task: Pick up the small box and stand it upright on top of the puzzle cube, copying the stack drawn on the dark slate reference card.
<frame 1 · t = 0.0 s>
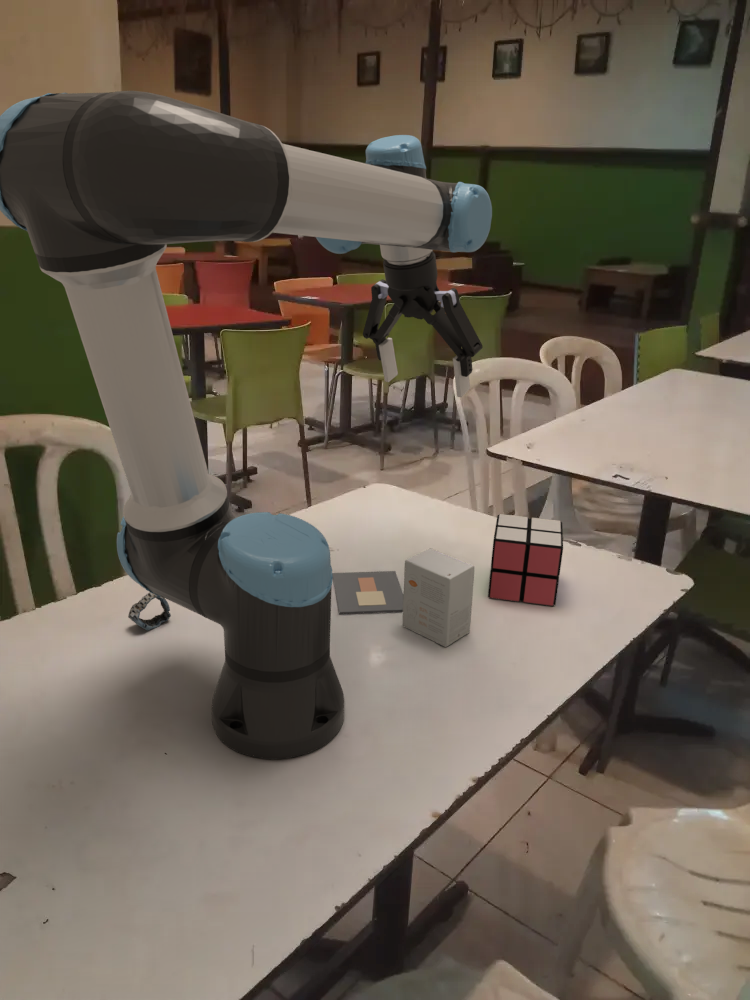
hand: (426, 385, 124), 28 cm above the table, tool tilted 20°, fingers open, 13 cm apart
small box: (435, 630, 109), on the table
puzzle cube: (521, 589, 121), on the table
reference card: (368, 592, 118), on the table
wristwatch: (151, 627, 108), on the table
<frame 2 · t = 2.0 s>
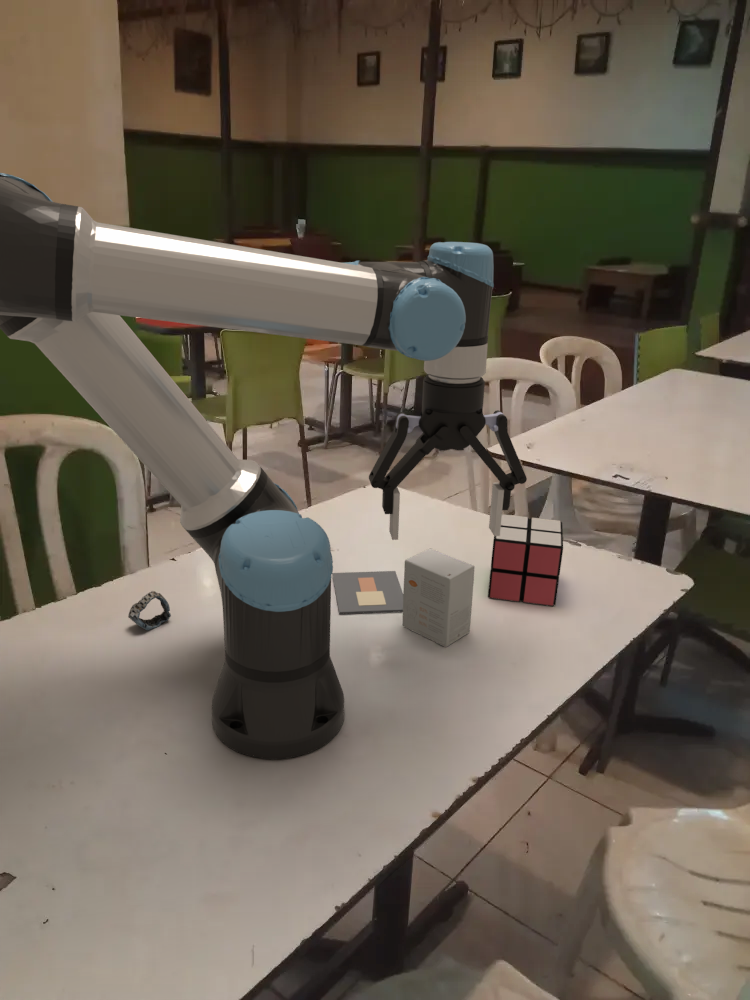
hand: (444, 533, 104), 15 cm above the table, tool pointing down, fingers open, 13 cm apart
nothing on the table moved.
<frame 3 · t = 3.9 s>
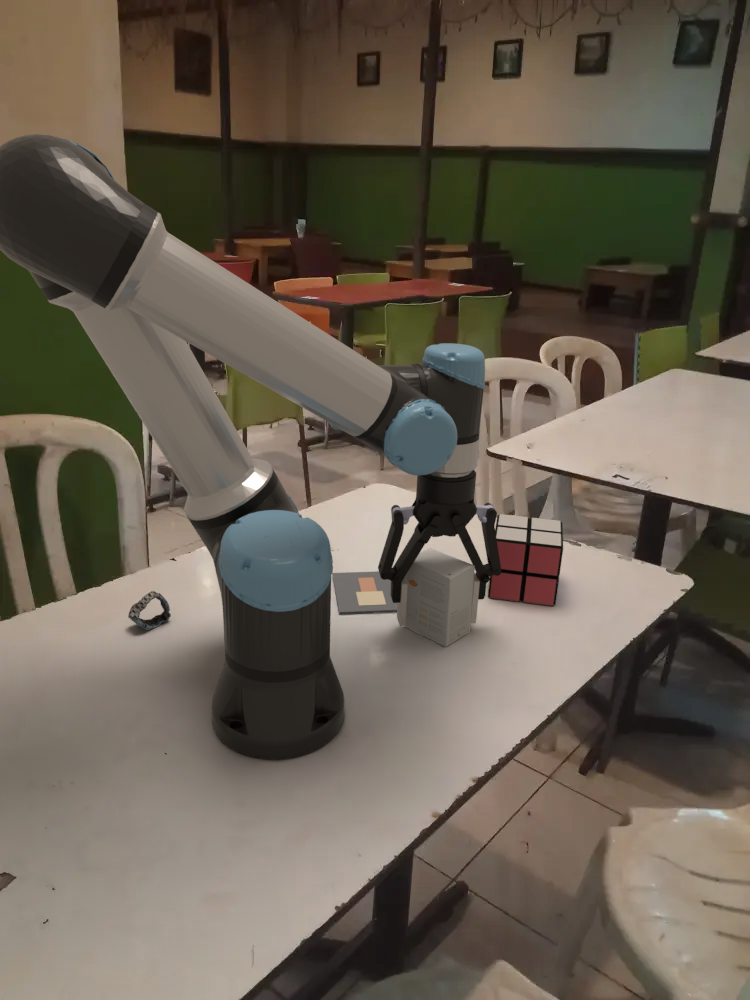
hand: (436, 619, 109), 2 cm above the table, tool pointing down, fingers closed on small box, 9 cm apart
small box: (435, 630, 109), on the table, touching gripper
everything else where it was.
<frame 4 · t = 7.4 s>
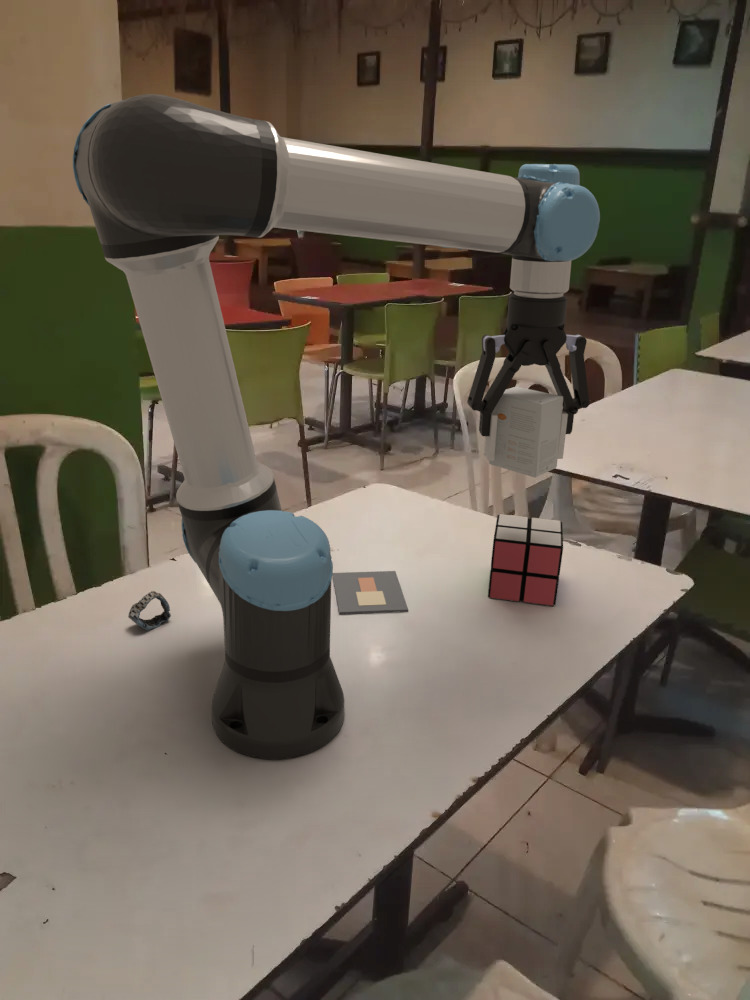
hand: (523, 456, 110), 22 cm above the table, tool pointing down, fingers closed on small box, 9 cm apart
small box: (522, 467, 111), point 21 cm above the table, touching gripper
everything else where it was.
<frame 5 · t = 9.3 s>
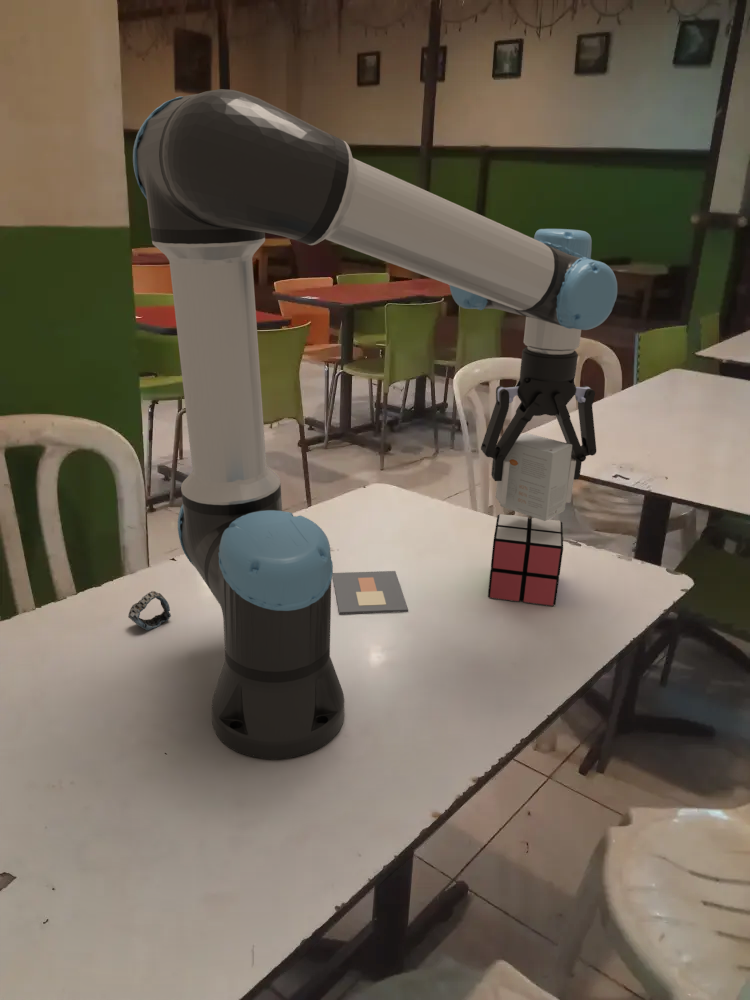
hand: (532, 499, 116), 15 cm above the table, tool pointing down, fingers closed on small box, 9 cm apart
small box: (531, 510, 116), point 13 cm above the table, touching gripper
everything else where it was.
when the fingers open (12 cm above the table, at t = 10.8 s): small box drops 1 cm, resting on puzzle cube.
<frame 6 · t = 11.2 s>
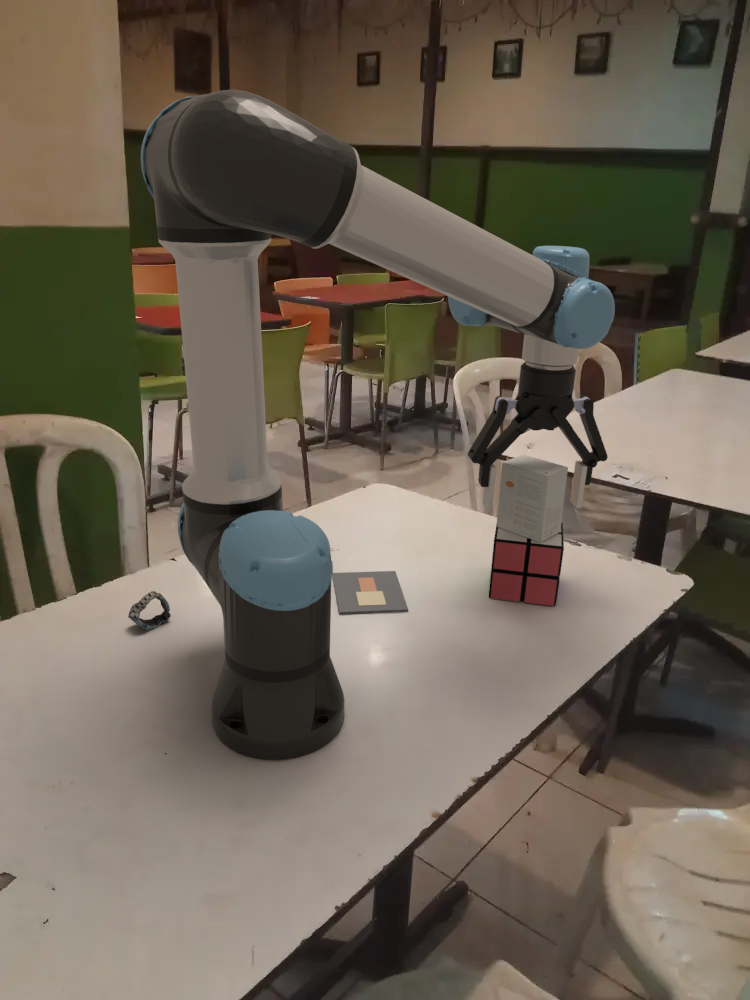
hand: (531, 505, 116), 14 cm above the table, tool pointing down, fingers open, 13 cm apart
small box: (527, 531, 118), point 10 cm above the table, touching puzzle cube
puzzle cube: (522, 589, 121), on the table, touching small box
everything else where it was.
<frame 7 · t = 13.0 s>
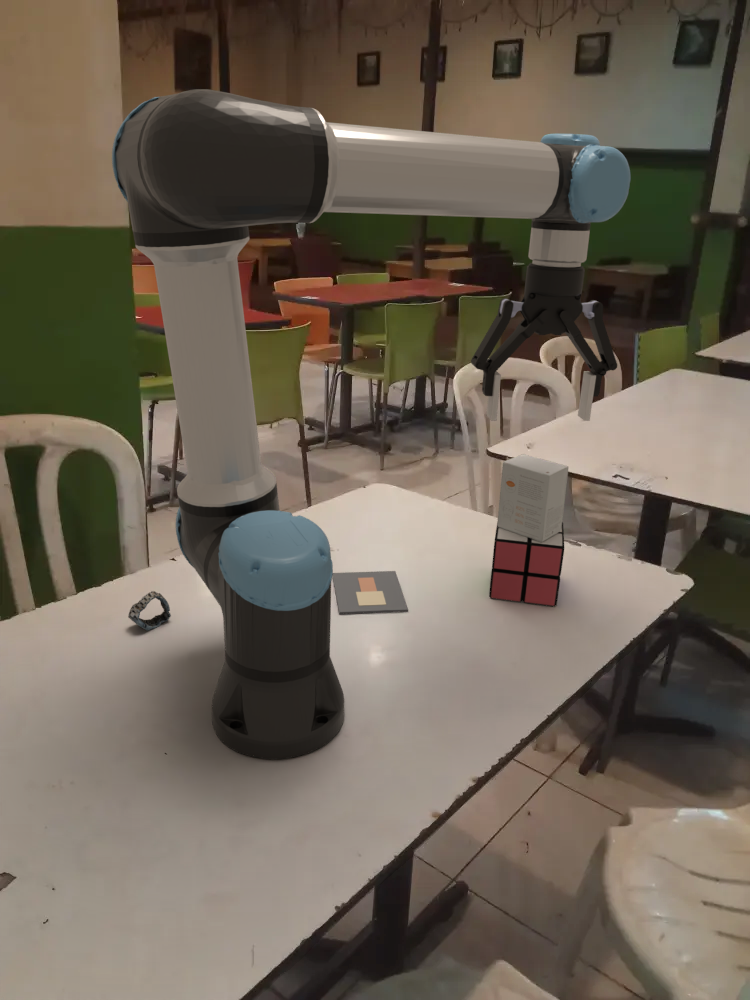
hand: (537, 418, 111), 27 cm above the table, tool pointing down, fingers open, 13 cm apart
nothing on the table moved.
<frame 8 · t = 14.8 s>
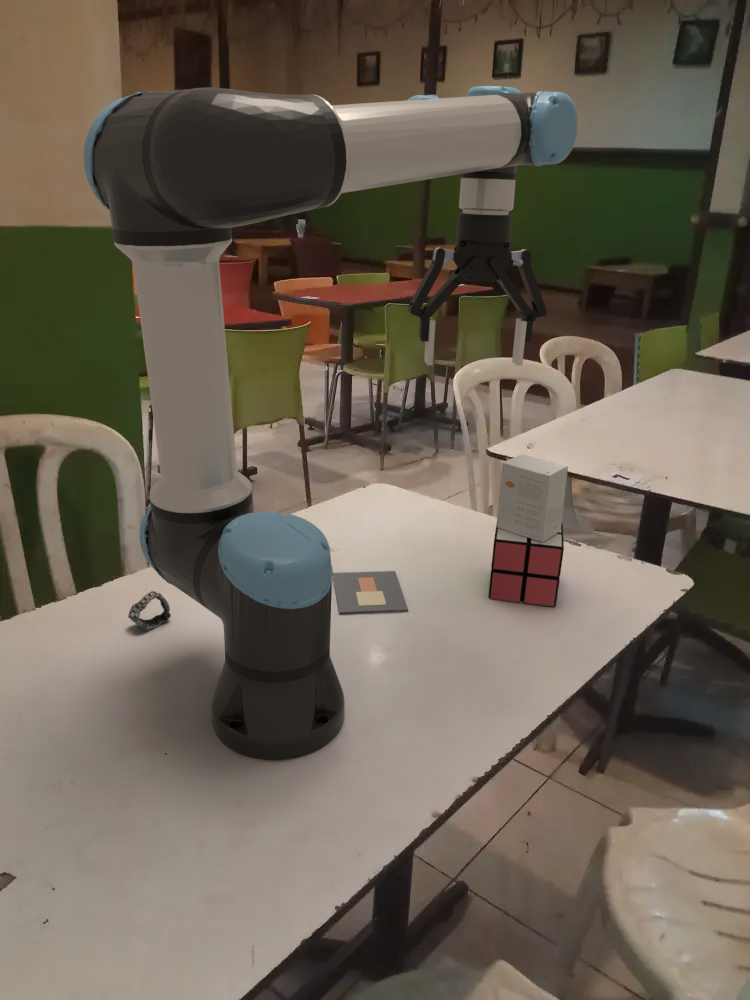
hand: (473, 363, 117), 33 cm above the table, tool pointing down, fingers open, 13 cm apart
nothing on the table moved.
at the end: small box 0.2 cm off-centre on the puzzle cube, point 10.0 cm above the puzzle cube's base; small box tilted 0°; the gripper is holding nothing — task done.
